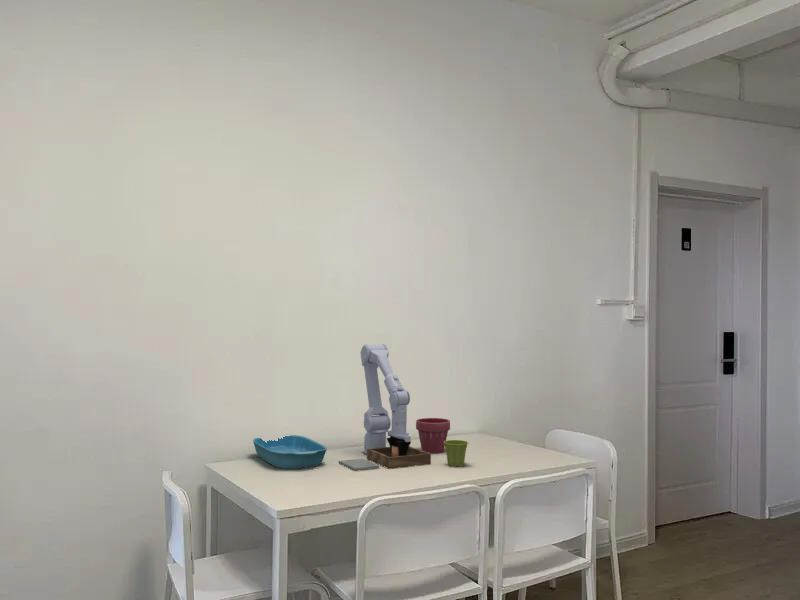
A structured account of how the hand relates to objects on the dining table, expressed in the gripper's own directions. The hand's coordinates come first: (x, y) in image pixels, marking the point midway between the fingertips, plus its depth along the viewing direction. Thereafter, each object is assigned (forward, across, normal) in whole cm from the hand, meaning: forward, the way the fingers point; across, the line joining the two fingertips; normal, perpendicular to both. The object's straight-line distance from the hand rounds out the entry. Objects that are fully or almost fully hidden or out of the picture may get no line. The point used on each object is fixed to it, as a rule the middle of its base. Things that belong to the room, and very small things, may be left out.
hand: (398, 457), depth 279 cm
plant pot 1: (+2, +12, -23) cm, 26 cm away
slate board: (+2, 0, +17) cm, 17 cm away
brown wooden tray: (+2, 0, 0) cm, 2 cm away
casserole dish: (+2, +20, +37) cm, 42 cm away
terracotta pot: (+2, 0, 0) cm, 2 cm away
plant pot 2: (+2, -14, -17) cm, 22 cm away
